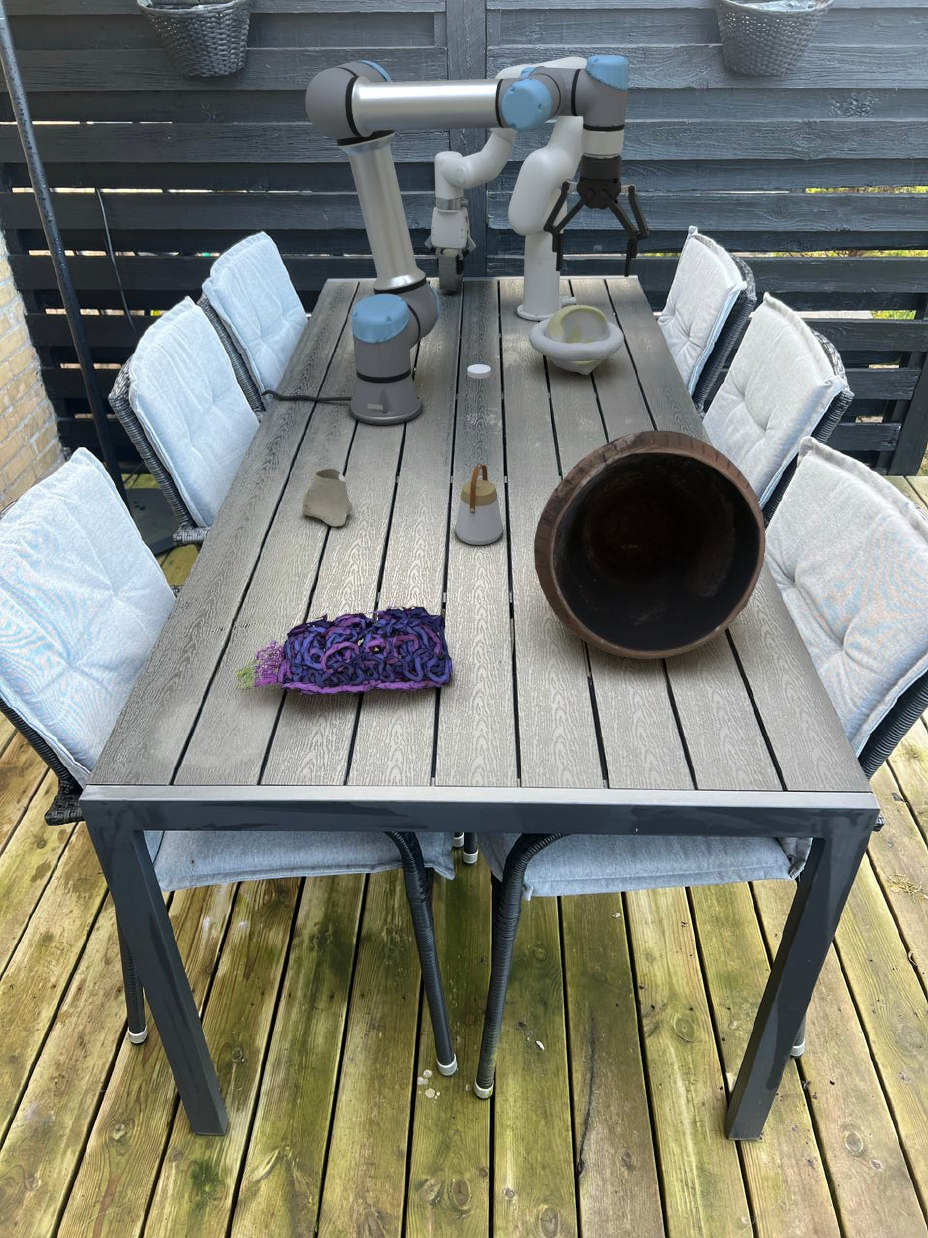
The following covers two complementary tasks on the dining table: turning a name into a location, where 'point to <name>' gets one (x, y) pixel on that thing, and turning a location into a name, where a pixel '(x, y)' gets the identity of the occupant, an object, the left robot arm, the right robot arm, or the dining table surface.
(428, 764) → the dining table surface
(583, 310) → the hat
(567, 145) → the right robot arm
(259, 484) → the dining table surface
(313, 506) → the grey irregular lump
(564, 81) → the left robot arm
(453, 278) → the brick
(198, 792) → the dining table surface
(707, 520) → the pot
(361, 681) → the decorative ornament
